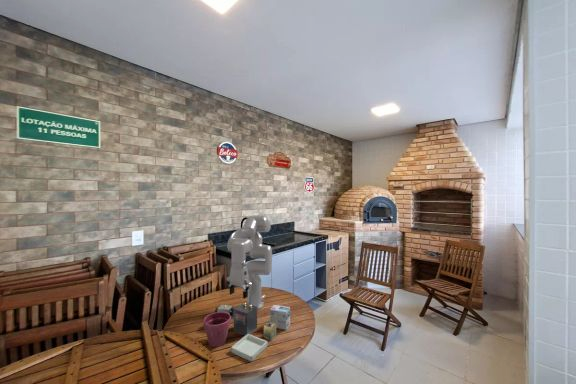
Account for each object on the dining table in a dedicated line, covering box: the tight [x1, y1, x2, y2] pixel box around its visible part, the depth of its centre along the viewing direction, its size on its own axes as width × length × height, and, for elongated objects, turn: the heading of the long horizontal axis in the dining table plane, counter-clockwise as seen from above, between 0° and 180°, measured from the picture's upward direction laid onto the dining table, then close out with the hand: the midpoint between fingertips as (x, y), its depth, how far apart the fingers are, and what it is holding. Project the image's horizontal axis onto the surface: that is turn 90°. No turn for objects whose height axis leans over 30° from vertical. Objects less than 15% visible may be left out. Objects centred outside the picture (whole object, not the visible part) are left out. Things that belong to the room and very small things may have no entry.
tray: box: [230, 334, 269, 363], centre depth 125 cm, size 13×13×2 cm
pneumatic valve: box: [214, 304, 235, 320], centre depth 148 cm, size 6×12×12 cm, turn 78°
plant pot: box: [203, 312, 232, 348], centre depth 131 cm, size 14×14×13 cm
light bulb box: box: [269, 304, 291, 331], centre depth 147 cm, size 11×7×11 cm, turn 71°
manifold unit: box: [233, 301, 258, 337], centre depth 142 cm, size 9×10×15 cm
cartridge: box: [263, 320, 277, 341], centre depth 136 cm, size 5×5×8 cm
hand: (238, 295), depth 133 cm, fingers open, 9 cm apart
